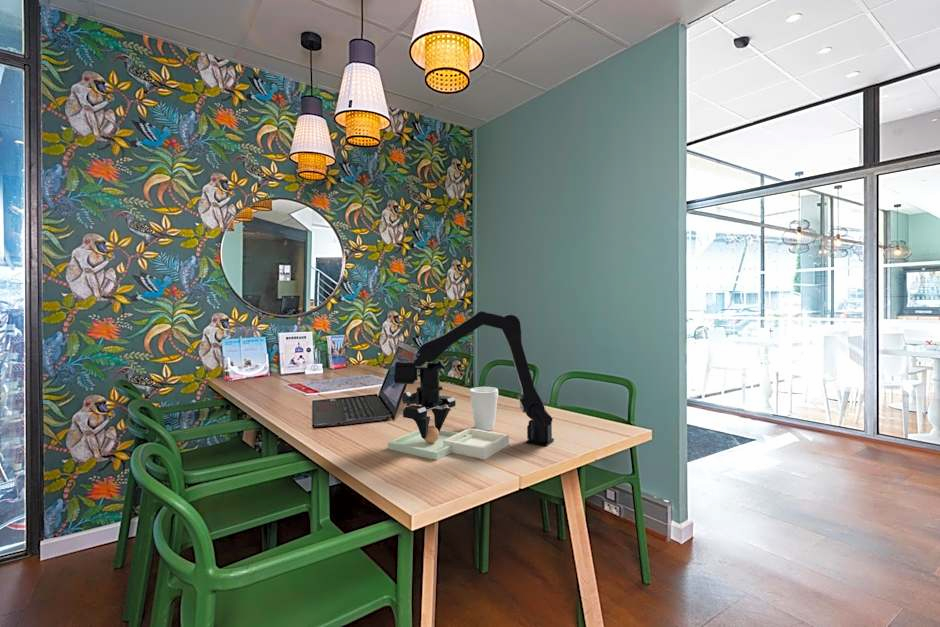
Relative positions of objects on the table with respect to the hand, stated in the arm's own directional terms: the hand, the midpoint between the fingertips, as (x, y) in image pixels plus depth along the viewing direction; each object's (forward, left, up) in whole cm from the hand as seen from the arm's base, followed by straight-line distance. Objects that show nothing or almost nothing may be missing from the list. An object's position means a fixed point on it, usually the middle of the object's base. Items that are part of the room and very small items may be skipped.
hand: (430, 435), depth 135 cm
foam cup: (-5, -23, -3) cm, 24 cm away
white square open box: (-13, -5, -3) cm, 14 cm away
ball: (0, 0, 0) cm, 0 cm away
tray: (0, 0, -3) cm, 3 cm away
